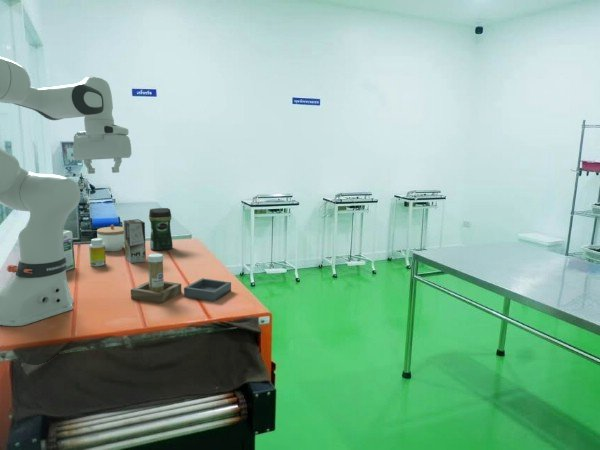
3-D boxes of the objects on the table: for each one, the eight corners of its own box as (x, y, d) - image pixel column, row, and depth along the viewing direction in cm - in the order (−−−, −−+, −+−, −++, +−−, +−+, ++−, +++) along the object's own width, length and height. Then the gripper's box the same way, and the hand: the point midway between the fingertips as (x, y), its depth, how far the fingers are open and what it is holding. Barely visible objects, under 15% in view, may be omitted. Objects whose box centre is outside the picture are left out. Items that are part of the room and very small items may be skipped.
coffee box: (146, 261, 183) (145, 222, 180) (130, 263, 180) (128, 223, 176) (140, 256, 190) (139, 218, 187) (124, 258, 187) (122, 219, 184)
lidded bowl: (94, 253, 194) (92, 227, 191) (102, 246, 206) (100, 222, 204) (125, 252, 196) (123, 227, 193) (131, 245, 208) (130, 222, 206)
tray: (214, 301, 141) (214, 292, 140) (184, 296, 144) (183, 287, 144) (231, 290, 151) (231, 282, 150) (202, 286, 154) (202, 278, 154)
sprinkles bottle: (158, 298, 142) (156, 257, 139) (146, 296, 143) (144, 255, 141) (167, 294, 146) (166, 254, 143) (155, 292, 147) (154, 252, 145)
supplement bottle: (107, 265, 176) (106, 239, 174) (92, 267, 173) (91, 241, 171) (103, 262, 180) (102, 237, 178) (88, 264, 177) (87, 238, 175)
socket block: (160, 303, 138) (160, 294, 137) (131, 298, 141) (130, 289, 141) (181, 292, 148) (181, 283, 147) (153, 288, 151) (152, 279, 151)
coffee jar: (170, 245, 210) (169, 206, 206) (174, 249, 203) (173, 209, 200) (148, 247, 205) (147, 207, 202) (151, 251, 199) (150, 210, 195)
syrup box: (65, 272, 166) (62, 233, 163) (51, 270, 167) (48, 232, 164) (75, 267, 171) (73, 230, 169) (61, 266, 173) (59, 229, 170)
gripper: (66, 131, 146) (70, 174, 148) (120, 127, 140) (123, 172, 142) (80, 132, 152) (84, 174, 154) (132, 129, 147) (135, 172, 148)
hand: (103, 173), depth 148 cm, fingers open, 8 cm apart
